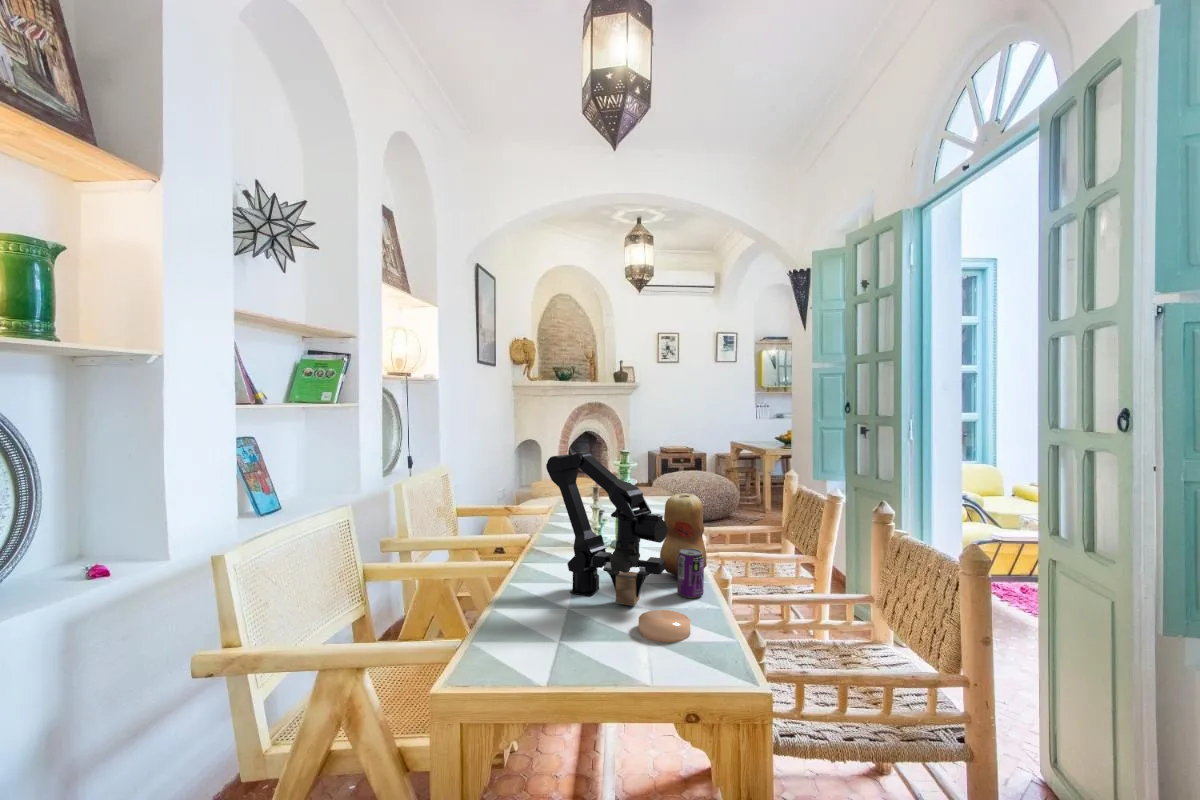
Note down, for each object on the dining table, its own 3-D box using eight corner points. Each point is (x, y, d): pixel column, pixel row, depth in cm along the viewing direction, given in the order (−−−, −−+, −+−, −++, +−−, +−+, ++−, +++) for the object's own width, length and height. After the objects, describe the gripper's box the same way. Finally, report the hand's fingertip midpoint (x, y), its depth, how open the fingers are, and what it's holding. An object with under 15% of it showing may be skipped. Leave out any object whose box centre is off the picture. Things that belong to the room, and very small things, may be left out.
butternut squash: (658, 583, 168) (659, 497, 167) (660, 569, 181) (661, 489, 181) (707, 586, 166) (708, 499, 165) (705, 571, 179) (706, 491, 178)
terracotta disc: (632, 638, 131) (632, 625, 131) (646, 619, 142) (646, 607, 142) (684, 647, 127) (684, 633, 127) (694, 626, 138) (694, 614, 138)
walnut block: (615, 603, 149) (615, 576, 149) (621, 596, 154) (621, 570, 154) (634, 605, 148) (634, 578, 148) (639, 599, 152) (639, 572, 152)
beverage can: (703, 600, 154) (703, 556, 154) (676, 598, 156) (676, 554, 155) (703, 591, 161) (704, 548, 161) (678, 589, 163) (678, 547, 162)
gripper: (583, 539, 146) (583, 600, 146) (655, 547, 140) (654, 611, 140) (598, 529, 157) (598, 587, 157) (666, 536, 150) (665, 596, 151)
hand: (627, 595), depth 151 cm, fingers closed on walnut block, 5 cm apart
